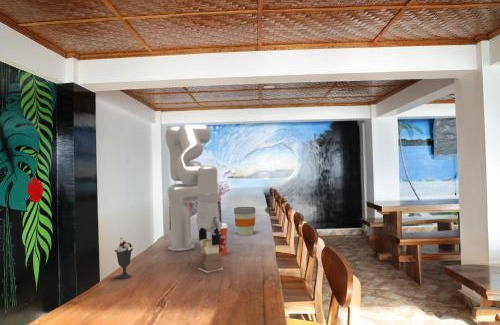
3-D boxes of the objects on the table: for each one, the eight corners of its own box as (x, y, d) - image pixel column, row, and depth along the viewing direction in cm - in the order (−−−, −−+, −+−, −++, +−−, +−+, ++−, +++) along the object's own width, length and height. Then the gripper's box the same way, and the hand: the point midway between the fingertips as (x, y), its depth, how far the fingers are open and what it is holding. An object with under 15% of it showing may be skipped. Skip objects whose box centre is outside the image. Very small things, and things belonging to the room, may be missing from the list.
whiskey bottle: (202, 231, 228) (201, 179, 228) (207, 228, 238) (205, 178, 238) (219, 231, 226) (217, 178, 226) (223, 228, 236) (221, 177, 236)
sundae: (116, 280, 134) (115, 239, 134) (114, 276, 140) (112, 236, 140) (135, 277, 137) (134, 236, 137) (132, 273, 143) (130, 234, 143)
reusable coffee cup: (256, 235, 208) (255, 208, 209) (234, 236, 209) (233, 209, 209) (256, 231, 221) (255, 206, 221) (235, 232, 221) (234, 207, 221)
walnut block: (199, 268, 144) (199, 252, 144) (213, 265, 147) (212, 250, 147) (207, 271, 139) (207, 255, 139) (221, 268, 142) (220, 252, 142)
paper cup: (226, 258, 161) (225, 225, 161) (209, 257, 163) (208, 225, 163) (230, 253, 169) (229, 222, 169) (214, 253, 170) (213, 222, 170)
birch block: (200, 252, 144) (200, 239, 144) (212, 250, 147) (211, 238, 147) (207, 255, 140) (207, 241, 140) (218, 252, 143) (218, 239, 143)
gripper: (188, 197, 148) (189, 240, 148) (211, 201, 134) (212, 248, 134) (205, 196, 152) (206, 237, 153) (228, 199, 139) (229, 245, 139)
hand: (209, 242), depth 144 cm, fingers open, 9 cm apart
